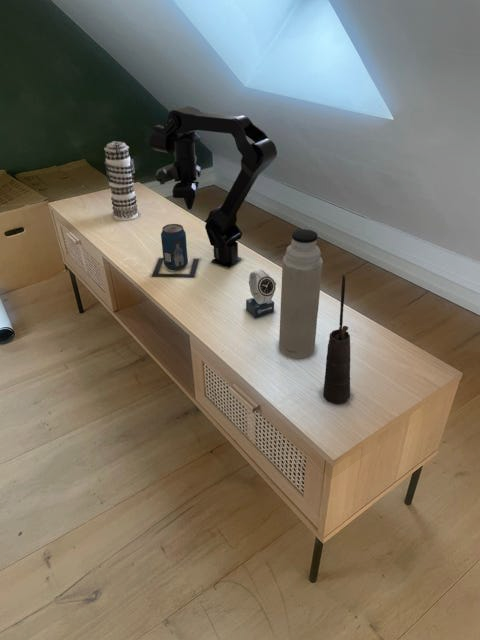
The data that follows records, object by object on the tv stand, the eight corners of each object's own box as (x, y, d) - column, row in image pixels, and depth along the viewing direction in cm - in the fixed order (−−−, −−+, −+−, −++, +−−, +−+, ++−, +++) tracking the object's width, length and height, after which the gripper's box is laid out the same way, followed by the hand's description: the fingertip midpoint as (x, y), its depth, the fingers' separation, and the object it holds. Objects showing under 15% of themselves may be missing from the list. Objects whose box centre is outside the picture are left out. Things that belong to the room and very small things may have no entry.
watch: (258, 322, 121) (259, 283, 115) (242, 306, 127) (242, 268, 121) (278, 316, 123) (280, 277, 117) (261, 301, 129) (262, 263, 123)
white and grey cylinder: (111, 212, 179) (100, 140, 165) (137, 209, 182) (128, 138, 168) (114, 222, 172) (102, 148, 158) (141, 218, 175) (131, 145, 160)
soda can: (174, 258, 149) (170, 221, 143) (192, 264, 146) (190, 226, 139) (159, 268, 144) (154, 229, 138) (178, 274, 141) (174, 235, 135)
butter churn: (334, 370, 106) (349, 251, 90) (371, 394, 100) (394, 270, 84) (304, 390, 101) (314, 267, 85) (341, 415, 95) (359, 289, 79)
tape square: (159, 258, 149) (158, 258, 149) (198, 259, 149) (198, 258, 149) (151, 276, 140) (151, 276, 140) (194, 277, 140) (194, 276, 140)
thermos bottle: (271, 349, 112) (275, 234, 96) (292, 333, 117) (298, 221, 102) (301, 363, 108) (310, 246, 92) (321, 346, 113) (333, 231, 97)
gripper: (161, 146, 146) (166, 196, 155) (150, 168, 131) (157, 223, 140) (199, 145, 146) (202, 196, 155) (193, 167, 131) (197, 222, 140)
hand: (189, 209), depth 147 cm, fingers closed
